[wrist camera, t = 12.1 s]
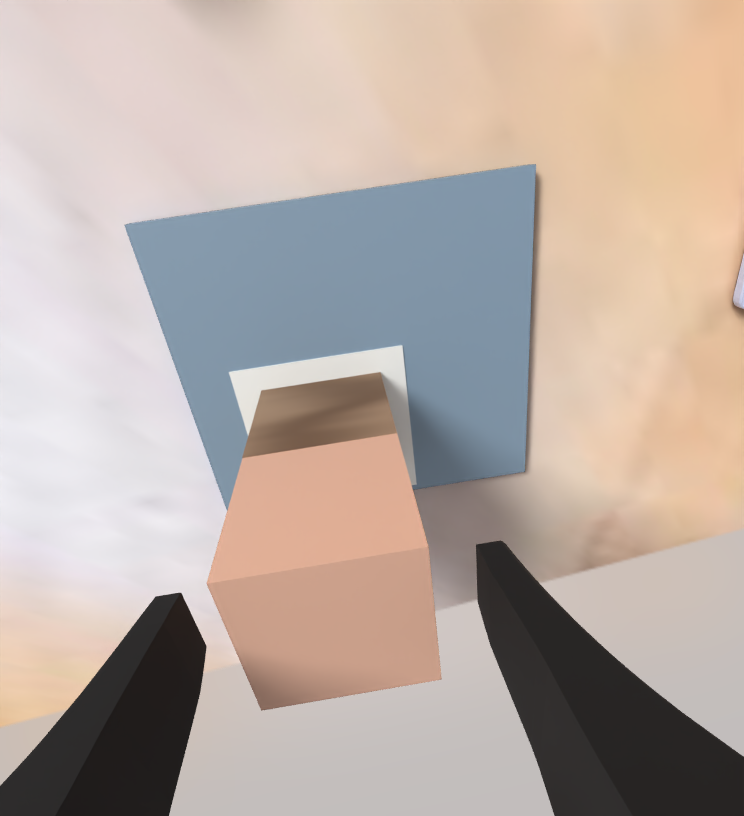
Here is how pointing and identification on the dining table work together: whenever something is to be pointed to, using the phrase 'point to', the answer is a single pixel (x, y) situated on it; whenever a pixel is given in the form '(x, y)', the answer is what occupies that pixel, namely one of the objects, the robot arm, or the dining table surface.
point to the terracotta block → (326, 574)
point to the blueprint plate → (358, 313)
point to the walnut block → (320, 414)
